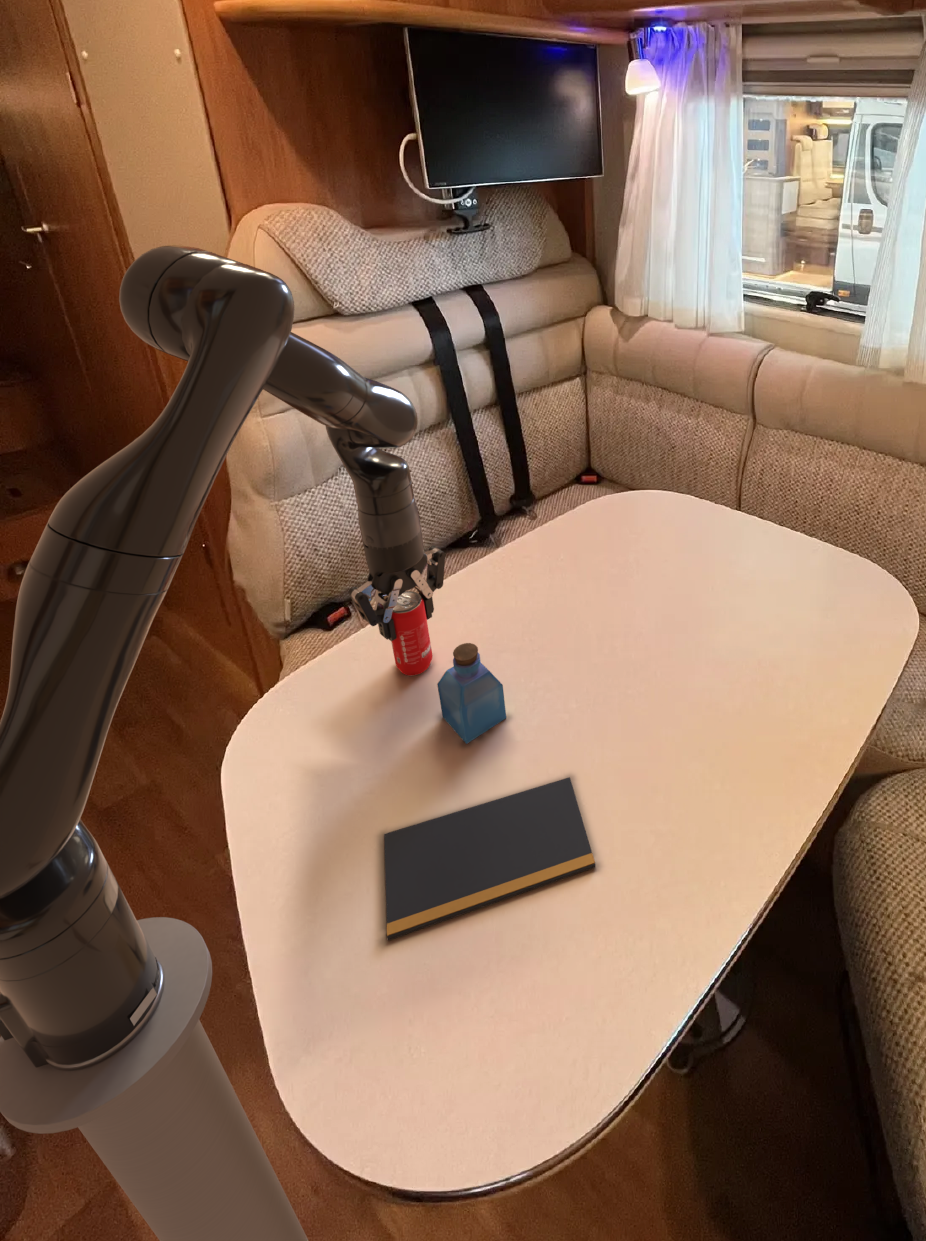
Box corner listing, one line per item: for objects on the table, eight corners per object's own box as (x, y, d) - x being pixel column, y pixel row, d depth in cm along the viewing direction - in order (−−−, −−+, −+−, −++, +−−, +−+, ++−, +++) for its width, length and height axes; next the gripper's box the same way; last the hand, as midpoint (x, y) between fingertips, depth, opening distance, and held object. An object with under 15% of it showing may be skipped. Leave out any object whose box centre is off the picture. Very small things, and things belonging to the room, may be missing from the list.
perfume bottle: (442, 717, 100) (431, 651, 94) (481, 693, 104) (473, 628, 98) (466, 744, 96) (456, 676, 91) (506, 718, 100) (499, 652, 95)
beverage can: (413, 683, 105) (401, 618, 100) (389, 668, 108) (376, 604, 102) (440, 661, 109) (431, 598, 104) (417, 647, 112) (406, 585, 106)
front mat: (387, 940, 74) (386, 937, 74) (384, 836, 84) (383, 833, 84) (595, 867, 82) (595, 863, 81) (570, 779, 92) (569, 776, 91)
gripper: (421, 498, 105) (435, 591, 112) (325, 542, 95) (348, 641, 102) (452, 517, 101) (465, 612, 108) (356, 565, 90) (377, 667, 98)
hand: (408, 626), depth 105 cm, fingers closed on beverage can, 5 cm apart
